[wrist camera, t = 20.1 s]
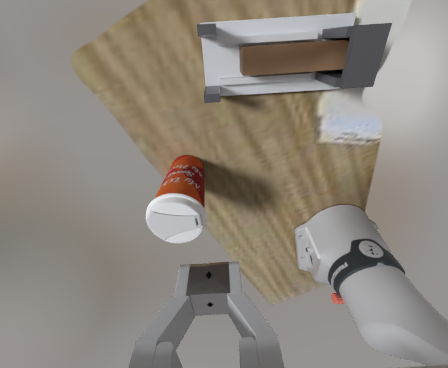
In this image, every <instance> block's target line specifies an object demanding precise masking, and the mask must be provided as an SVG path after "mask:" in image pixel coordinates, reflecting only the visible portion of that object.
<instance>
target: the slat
mask: <svg viewBox="0 0 448 368" xmlns="http://www.w3.org/2000/svg"><path fill="white" fill-rule="evenodd" d="M349 40H350V39H340V40H326V41H312V42H298V43H284V44H270V45H256V46H242V47H239V60H240V73H241V74H242V75H243V76H252V75H266V74H281V73H295V72H309V71H324V70H338V69H343V67H344V62H345V58H346V53H347V49H348V44H349Z"/></svg>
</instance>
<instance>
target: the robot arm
mask: <svg viewBox="0 0 448 368" xmlns="http://www.w3.org/2000/svg"><path fill="white" fill-rule="evenodd" d="M377 228H378V227H377V225H376V224H375V223H374V222H373V221H371V220H369V219H368V217H367V215H366V213H365V212H364V211H363V210H362V209H360V208H359V207H356V206H353V205H337V206H333V207H330V208H327V209H325V210H323V211H321V212H319V213H317V214H316V215H315V216H313V217H312V218H311V219H310V220H309V221H308V222H307V223H305V224H303V225H301V226H299V227H297V228H296V229H295V242H296V252H297V262H298V266H299V268H300V269H302V270H305V271H310V272H311V274H312V276H313V278H314V280H316V281H317V282H319V283H323V284H328V285H331V286H332V288H333V289H334V290H335V291H336V292H337V293H332V300H333V302H334V303H335V304H339V303H342V304H344V303H345V305H346V307H347V309H348V311H349V313H350V315H351V317H352V319H353V321H354V323H355V325H356V328H357V330H358V332H359V333H360V335H361V337H362V338H363V339H364V340H365V341H366V342H367V343H368V344H369V345H370V346H371V347H373V348H374V349H376V350H377V351H380V352H382V353H384V354H388V355H390V356H394V357H398V358H403V359H407V360H412V361H415V362H419V363H421V364H424V365H425V366H416V367H398V368H448V320H446V319H445V318H444V317H443V316H442V315H441V314H440V313H439V312H438V311H437V310H436V309H435V308H434V307H433V306H432V305H431V304H430V303H429V302H428V301H427V300H426V299H425V298H424V297H423V295H422V294H421V293H420V292H419V291H418V290H417V289H416V288H415V287H414V285H413V284H412V283H411V282H410V280H409V279H408V278H407V277H406V276H405V271H404V269H403V268H402V266H401V265H400V263H399V262H398V261H397V260H396V259H395V258H394V256H393V255H392V254H391V251H390V249H389V248H388V246H387V245H386V243H385V242H384V240H383V239H382V237H381V236H380V235H379V233H378V231H377ZM211 314H229V316H230V318H231V319H232V321H233V323H234V324H235V326H236V328H237V330H238V331H239V333H240V335H241V337H242V338H241V340H240V341H239V347H240V348H239V349H240V368H284V364H283V360H282V354H281V350H280V345H279V340H278V335H277V334H276V332H275V331H274V330H273V328H272V327H271V326H270V324H269V323H268V322H267V320H266V319H265V318H264V317H263V315H262V314H261V313H260V311H259V310H258V309H257V307H256V306H255V305H254V303H253V302H252V301H251V300H250V298H249V297H248V296H247V294H246V293H242V286H241V276H240V266H239V261H236V262H219V263H209V264H184V265H180V267H179V272H178V279H177V284H176V290H175V296H173V297H171V298H170V299H169V300H168V302H167V303H166V304H165V305H164V307H163V308H162V309H161V311H160V312H159V313H158V314H157V316H156V317H155V318H154V319H153V321H152V322H151V323H150V324H149V326H148V327H147V328H146V330H145V331H144V332H143V333H142V335H141V336H140V337H139V338H138V340H137V341H136V342H135V346H134V350H133V353H132V357H131V360H130V364H129V368H182V364H181V362H180V360H179V357H178V355H177V353H176V349H177V347H178V346H179V344H180V342H181V340H182V339H183V337H184V335H185V333H186V332H187V330H188V328H189V326H190V324H191V323H192V321H193V319H194V318H195V317H194V316H199V315H211Z"/></svg>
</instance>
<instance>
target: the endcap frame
mask: <svg viewBox="0 0 448 368" xmlns="http://www.w3.org/2000/svg"><path fill="white" fill-rule="evenodd" d="M355 17H356V13H346V14H330V15H315V16H300V17H284V18H269V19H253V20H238V21H222V22H207V23H200V24H197V30H198V36H200V37H201V38H202V49H203V60H204V71H205V82H206V88H205V92H204V101H205V103H212V102H220V96H232V95H248V94H264V93H280V92H296V91H312V90H328V89H340V87H341V88H357V87H372V86H373V85H374V81H375V78H376V75H377V71H378V68H379V65H380V61H381V58H382V55H383V51H384V48H385V45H386V41H387V38H388V35H389V31H390V28H391V25H392V23H385V24H369V25H356V26H354V22H355ZM340 39H350V40H349V44H348V49H347V53H346V58H345V62H344V67H343V69H338V70H324V71H309V72H295V73H281V74H266V75H252V76H243V75H242V74H241V73H240V60H239V47H242V46H256V45H270V44H284V43H298V42H312V41H326V40H340Z"/></svg>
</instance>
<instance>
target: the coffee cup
mask: <svg viewBox="0 0 448 368" xmlns="http://www.w3.org/2000/svg"><path fill="white" fill-rule="evenodd" d="M146 221H147V225H148V227H149V228H150V229H151V231H152V232H153V233H154V234H155V235H156V236H157V237H159V238H161V239H162V240H164V241H167V242H171V243H184V242H188V241H191V240H193V239H195V238H196V237H197V236H198V235H199V234H200V233H201V231H202V229H203V228H204V227H205V225H206V222H207V214H206V211H205V209H204V169H203V165H202V163H201V162H200V160H199V159H197V158H196V157H194V156H191V155H183V156H180V157H178V158H177V159H176V160H175V161H174V162H173V164H172V166H171V168H170V169H169V171H168V173H167V175H166V177H165V179H164V181H163V183H162V185H161V187H160V189H159V191H158V193H157V195H156V197H155V199H154V200H152V202H151V203H150V204H149V206H148V208H147V211H146Z"/></svg>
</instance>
